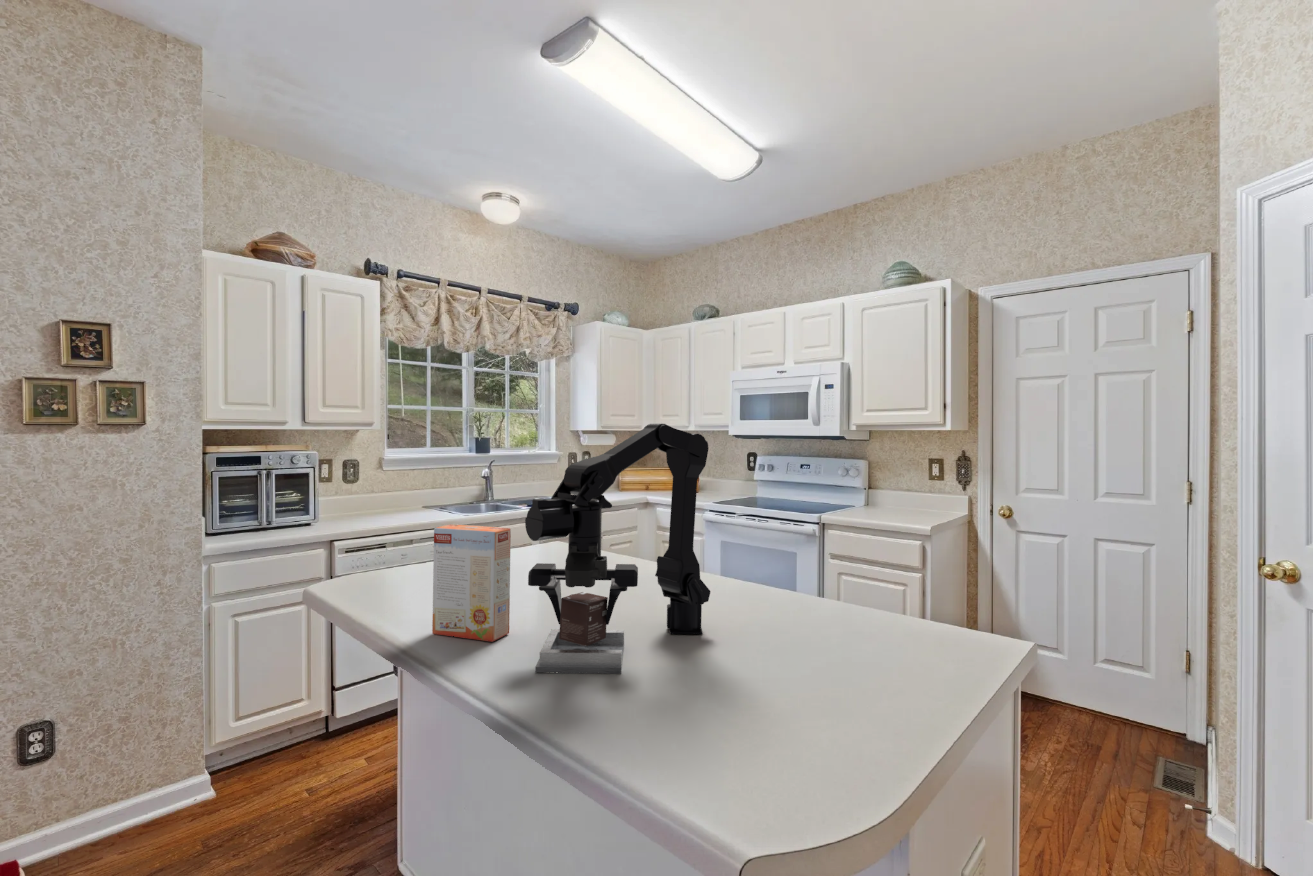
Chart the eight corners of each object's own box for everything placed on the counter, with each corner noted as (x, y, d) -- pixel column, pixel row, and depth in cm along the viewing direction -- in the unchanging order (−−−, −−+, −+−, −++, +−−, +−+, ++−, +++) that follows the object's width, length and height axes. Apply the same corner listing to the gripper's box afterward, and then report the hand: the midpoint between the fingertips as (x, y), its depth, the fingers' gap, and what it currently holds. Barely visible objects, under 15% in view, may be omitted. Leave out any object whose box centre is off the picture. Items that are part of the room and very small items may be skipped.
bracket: (624, 644, 112) (624, 628, 112) (620, 673, 98) (621, 655, 98) (549, 643, 112) (549, 627, 112) (535, 673, 98) (535, 654, 98)
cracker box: (510, 633, 117) (512, 527, 117) (492, 643, 111) (494, 531, 112) (451, 625, 122) (452, 522, 122) (430, 634, 116) (432, 526, 116)
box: (585, 647, 101) (587, 604, 101) (557, 639, 104) (560, 597, 104) (606, 638, 106) (608, 597, 106) (579, 631, 109) (582, 590, 109)
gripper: (521, 542, 97) (520, 639, 97) (637, 543, 97) (636, 639, 97) (534, 531, 108) (533, 618, 108) (638, 532, 108) (637, 619, 108)
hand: (583, 623), depth 105 cm, fingers closed on box, 8 cm apart
